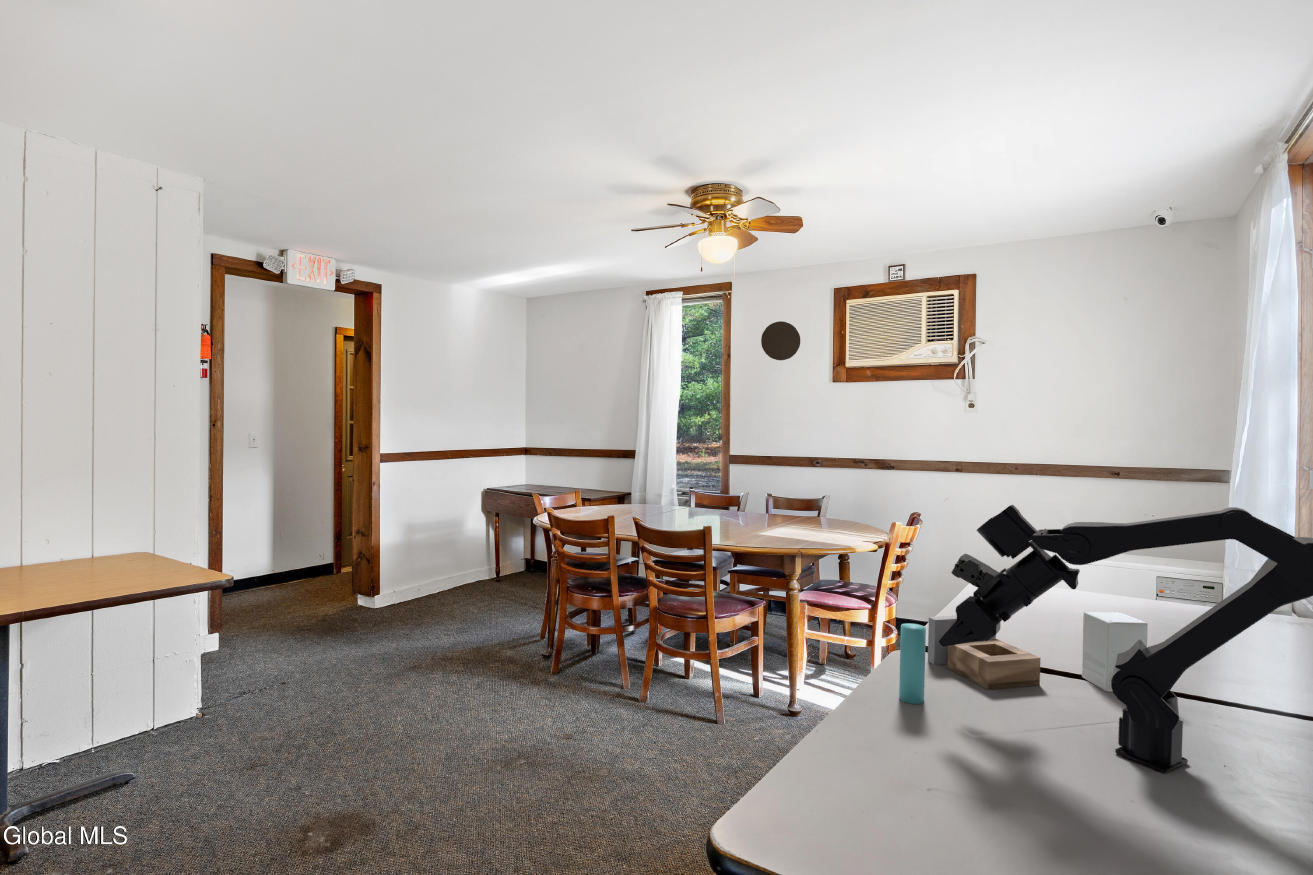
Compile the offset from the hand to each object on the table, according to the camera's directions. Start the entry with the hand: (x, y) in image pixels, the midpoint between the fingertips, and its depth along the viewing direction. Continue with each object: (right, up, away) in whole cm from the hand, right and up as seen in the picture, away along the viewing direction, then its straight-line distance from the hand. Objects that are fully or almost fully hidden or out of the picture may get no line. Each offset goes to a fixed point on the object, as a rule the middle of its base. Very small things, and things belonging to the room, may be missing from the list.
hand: (947, 636), depth 112 cm
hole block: (+15, -12, +15) cm, 24 cm away
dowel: (-5, -12, +4) cm, 13 cm away
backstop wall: (+13, -12, +23) cm, 29 cm away
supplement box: (+35, -13, +12) cm, 39 cm away
